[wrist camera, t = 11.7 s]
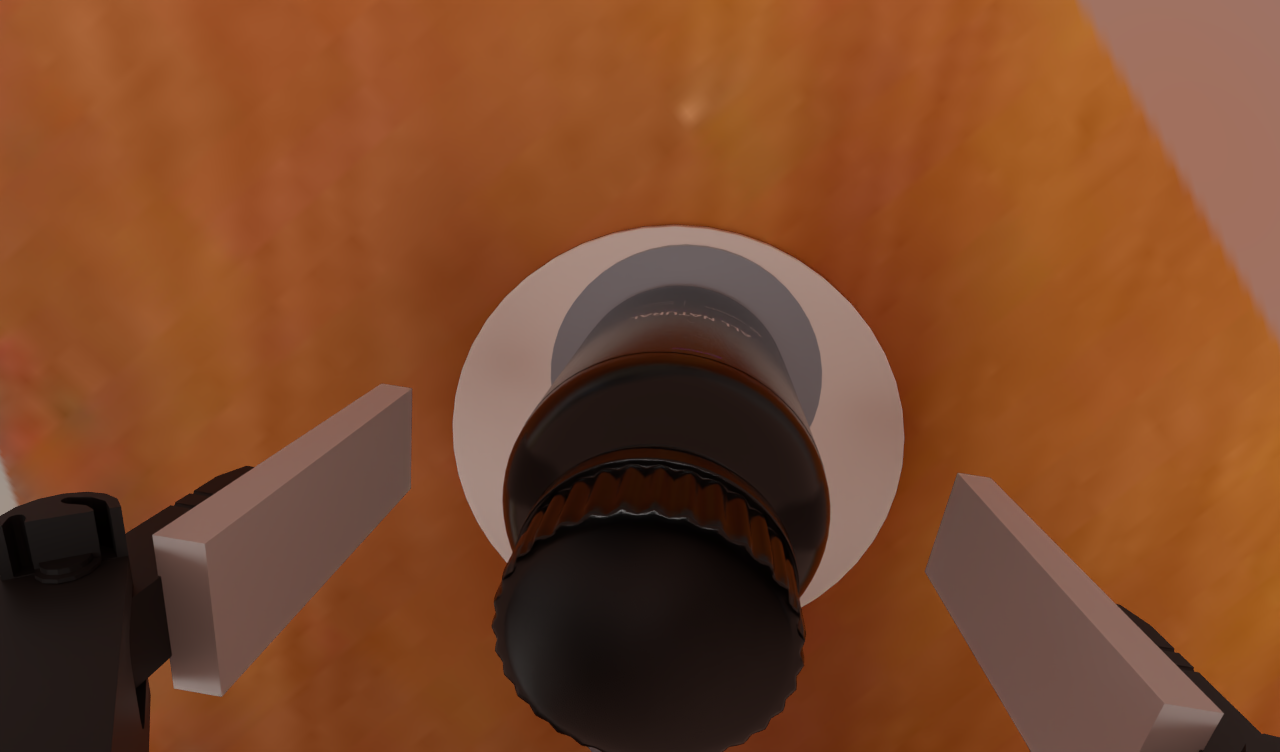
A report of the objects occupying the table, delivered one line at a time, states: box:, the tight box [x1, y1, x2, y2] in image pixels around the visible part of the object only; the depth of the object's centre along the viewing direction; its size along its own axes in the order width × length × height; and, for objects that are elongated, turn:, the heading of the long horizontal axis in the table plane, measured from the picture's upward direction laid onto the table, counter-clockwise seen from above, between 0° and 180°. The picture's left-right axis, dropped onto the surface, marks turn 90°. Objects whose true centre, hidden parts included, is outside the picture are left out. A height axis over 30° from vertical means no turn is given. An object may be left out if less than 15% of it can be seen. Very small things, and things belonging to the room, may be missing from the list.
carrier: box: [453, 224, 904, 752], centre depth 19 cm, size 16×16×8 cm
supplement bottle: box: [492, 285, 830, 752], centre depth 15 cm, size 7×7×12 cm
